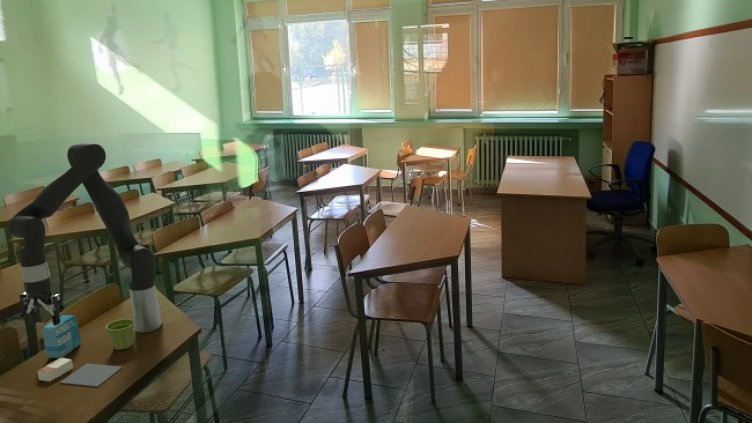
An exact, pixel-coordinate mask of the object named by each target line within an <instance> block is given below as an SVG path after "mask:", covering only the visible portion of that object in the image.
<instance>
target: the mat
mask: <svg viewBox="0 0 752 423" xmlns="http://www.w3.org/2000/svg"><path fill="white" fill-rule="evenodd" d="M122 369H123V366H118V365H107V364H106V365H105V364H95V363H85V364H84V365H82V366H81V367H80V368H78V369H76V371H73V373H71V374H70V375H68V376H67V377H66V378H64V379H62V380H61V381H60V383H59V384H61V383H63V385H71V384H73V385H72V386H81V385H82V387H92V388H99V387H100V386H101V385H103V384H104V383H105V382H106V381H108V380H109V379H110V378H112V377H113V376H114V375H116V374H117V373H118V372H120V371H121V370H122Z"/></svg>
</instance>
